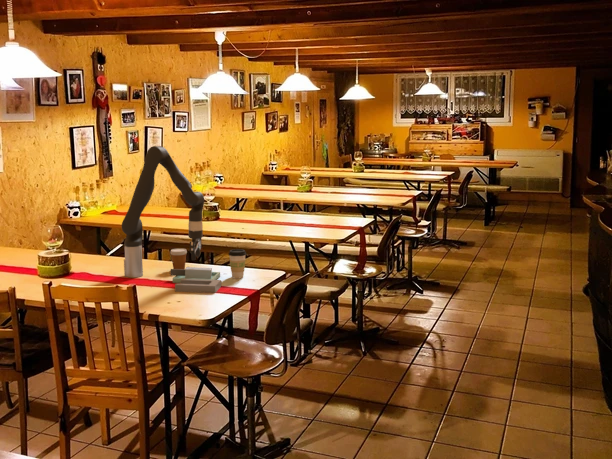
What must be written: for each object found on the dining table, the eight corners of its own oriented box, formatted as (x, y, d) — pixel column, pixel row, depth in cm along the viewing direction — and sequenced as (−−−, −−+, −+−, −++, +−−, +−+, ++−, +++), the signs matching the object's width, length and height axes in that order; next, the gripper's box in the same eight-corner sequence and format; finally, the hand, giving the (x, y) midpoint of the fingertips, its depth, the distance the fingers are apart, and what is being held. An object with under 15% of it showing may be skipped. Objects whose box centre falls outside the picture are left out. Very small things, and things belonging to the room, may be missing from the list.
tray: (172, 282, 335) (172, 278, 335) (181, 275, 351) (181, 270, 351) (212, 284, 333) (212, 279, 333) (220, 276, 349) (220, 272, 348)
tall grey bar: (170, 277, 338) (170, 268, 337) (171, 275, 343) (171, 266, 342) (211, 279, 340) (211, 270, 339) (211, 276, 345) (211, 267, 344)
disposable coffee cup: (185, 272, 358) (185, 251, 355) (169, 272, 358) (168, 251, 356) (189, 268, 367) (188, 248, 365) (172, 268, 367) (172, 248, 365)
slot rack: (175, 291, 319) (174, 284, 318) (182, 285, 331) (182, 278, 330) (215, 292, 317) (215, 286, 316) (221, 286, 328) (221, 280, 328)
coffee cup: (232, 280, 341) (232, 253, 338) (226, 276, 350) (225, 249, 347) (249, 278, 346) (249, 251, 343) (242, 274, 354) (242, 248, 351)
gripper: (192, 226, 344) (192, 255, 347) (184, 231, 330) (185, 260, 333) (205, 227, 343) (206, 255, 346) (198, 231, 329) (198, 261, 332)
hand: (195, 258), depth 340 cm, fingers open, 8 cm apart
